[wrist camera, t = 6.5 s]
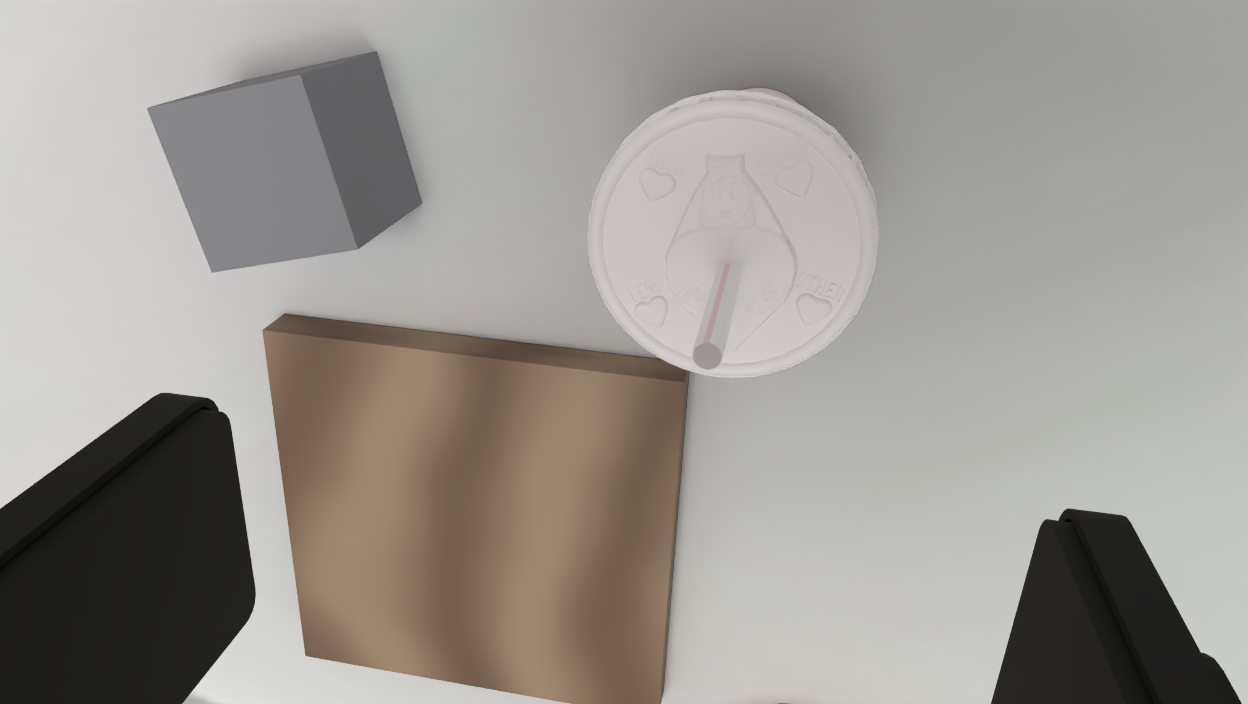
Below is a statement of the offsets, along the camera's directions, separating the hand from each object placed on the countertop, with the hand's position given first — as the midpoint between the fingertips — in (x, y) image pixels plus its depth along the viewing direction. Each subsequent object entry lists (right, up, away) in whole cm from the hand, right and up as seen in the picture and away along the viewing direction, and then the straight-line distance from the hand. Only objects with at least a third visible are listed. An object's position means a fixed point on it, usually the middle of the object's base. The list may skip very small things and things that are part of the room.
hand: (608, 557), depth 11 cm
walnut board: (-5, -4, +26) cm, 27 cm away
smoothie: (+4, +9, +18) cm, 21 cm away
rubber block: (-9, +9, +21) cm, 25 cm away
